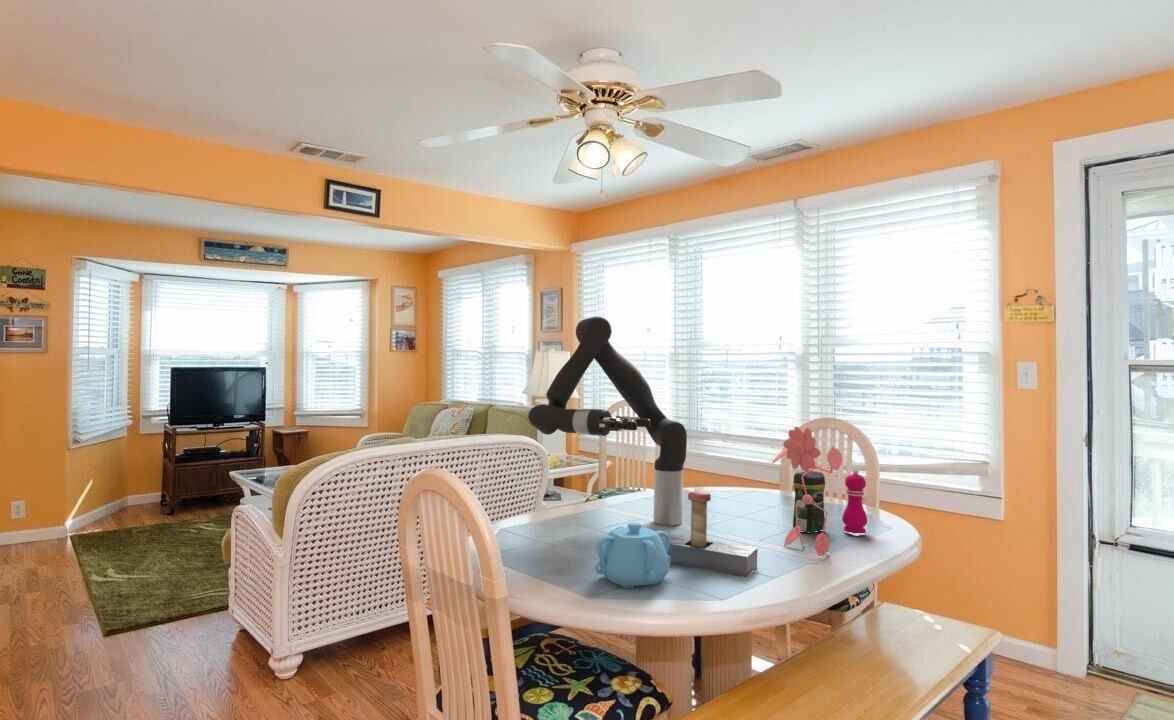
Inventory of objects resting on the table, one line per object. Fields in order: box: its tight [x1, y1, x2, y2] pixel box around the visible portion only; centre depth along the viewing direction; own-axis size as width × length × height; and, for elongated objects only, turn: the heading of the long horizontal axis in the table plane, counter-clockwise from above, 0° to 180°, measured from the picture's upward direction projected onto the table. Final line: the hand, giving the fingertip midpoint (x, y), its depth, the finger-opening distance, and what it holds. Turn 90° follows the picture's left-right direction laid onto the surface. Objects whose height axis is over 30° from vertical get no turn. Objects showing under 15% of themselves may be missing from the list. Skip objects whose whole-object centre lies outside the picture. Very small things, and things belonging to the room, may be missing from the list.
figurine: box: [771, 426, 843, 557], centre depth 181 cm, size 15×26×35 cm, turn 27°
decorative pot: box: [594, 522, 671, 589], centre depth 155 cm, size 16×16×14 cm
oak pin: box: [687, 490, 712, 548], centre depth 170 cm, size 6×6×18 cm
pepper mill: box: [841, 468, 868, 534], centre depth 204 cm, size 7×7×20 cm
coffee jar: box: [792, 470, 826, 533], centre depth 207 cm, size 10×8×19 cm
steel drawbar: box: [659, 533, 758, 578], centre depth 170 cm, size 9×28×5 cm, turn 60°
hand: (643, 424), depth 181 cm, fingers open, 8 cm apart
